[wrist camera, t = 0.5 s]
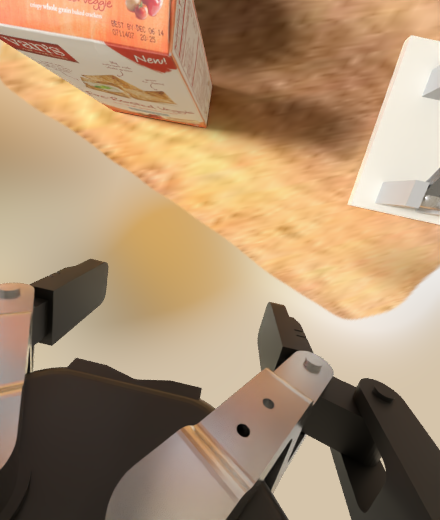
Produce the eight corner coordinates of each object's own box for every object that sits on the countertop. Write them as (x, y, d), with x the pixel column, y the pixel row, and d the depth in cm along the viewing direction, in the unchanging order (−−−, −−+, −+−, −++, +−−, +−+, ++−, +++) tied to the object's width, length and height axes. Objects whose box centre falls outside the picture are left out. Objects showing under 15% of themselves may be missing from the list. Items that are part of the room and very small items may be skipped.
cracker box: (114, 114, 36) (-40, 19, 16) (116, 67, 35) (-51, -105, 15) (207, 132, 36) (169, 57, 16) (214, 85, 34) (182, -65, 14)
